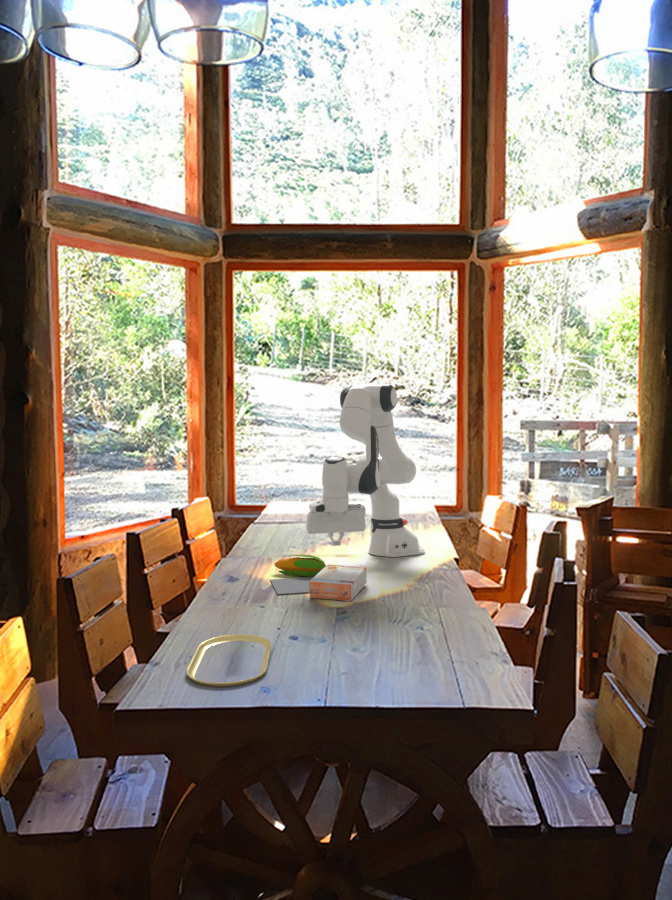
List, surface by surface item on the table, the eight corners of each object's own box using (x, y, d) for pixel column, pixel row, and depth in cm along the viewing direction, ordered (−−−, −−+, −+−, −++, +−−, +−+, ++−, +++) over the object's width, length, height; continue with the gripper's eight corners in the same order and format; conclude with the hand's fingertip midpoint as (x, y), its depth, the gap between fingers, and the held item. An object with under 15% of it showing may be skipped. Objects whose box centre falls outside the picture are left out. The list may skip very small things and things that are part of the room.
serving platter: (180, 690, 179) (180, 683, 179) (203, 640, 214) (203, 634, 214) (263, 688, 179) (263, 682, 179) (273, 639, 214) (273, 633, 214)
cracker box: (327, 580, 273) (308, 598, 253) (327, 563, 272) (308, 579, 252) (367, 584, 269) (351, 602, 249) (367, 566, 268) (351, 583, 248)
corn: (321, 557, 278) (269, 554, 285) (321, 579, 278) (269, 575, 285) (329, 554, 285) (277, 551, 292) (328, 576, 285) (277, 572, 292)
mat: (332, 576, 282) (332, 575, 282) (344, 590, 262) (344, 589, 262) (270, 580, 277) (270, 579, 277) (277, 595, 258) (277, 593, 258)
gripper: (363, 502, 275) (363, 542, 276) (304, 505, 271) (305, 545, 272) (367, 505, 269) (368, 545, 270) (307, 507, 265) (308, 548, 266)
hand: (336, 545), depth 271 cm, fingers closed
